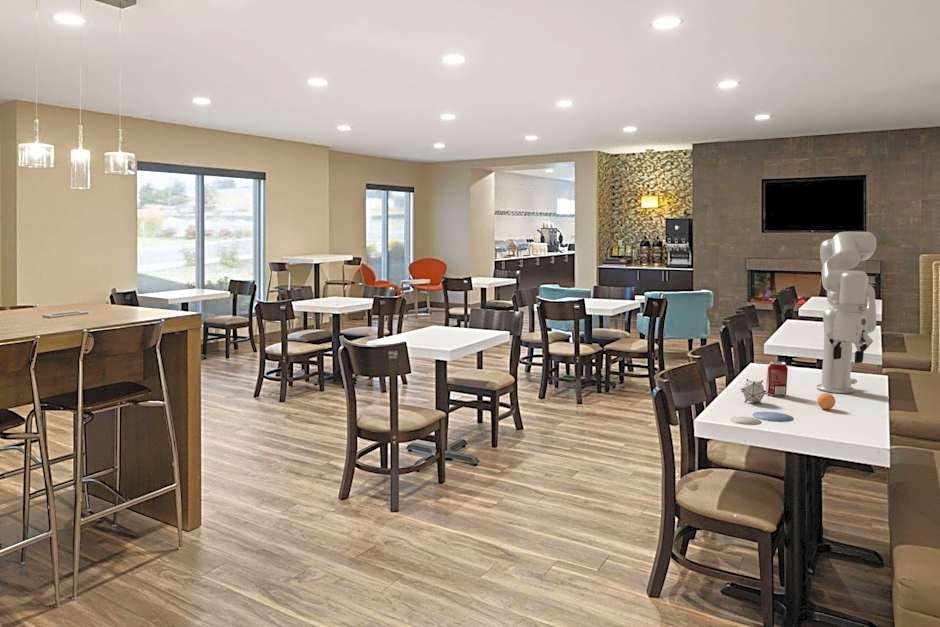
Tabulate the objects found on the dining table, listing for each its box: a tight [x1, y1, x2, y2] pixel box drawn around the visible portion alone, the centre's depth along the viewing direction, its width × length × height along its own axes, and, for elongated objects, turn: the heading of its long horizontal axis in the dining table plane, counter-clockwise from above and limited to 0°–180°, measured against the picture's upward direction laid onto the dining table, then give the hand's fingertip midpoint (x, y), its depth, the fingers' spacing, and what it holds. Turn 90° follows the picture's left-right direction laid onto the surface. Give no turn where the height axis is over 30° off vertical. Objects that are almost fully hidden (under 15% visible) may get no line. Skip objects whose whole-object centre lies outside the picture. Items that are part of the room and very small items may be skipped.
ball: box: [816, 392, 836, 410], centre depth 241 cm, size 6×6×6 cm
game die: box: [740, 378, 768, 405], centre depth 249 cm, size 9×8×10 cm
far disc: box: [730, 416, 762, 426], centre depth 225 cm, size 9×9×1 cm
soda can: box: [765, 360, 789, 397], centre depth 261 cm, size 7×7×12 cm
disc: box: [752, 411, 794, 423], centre depth 230 cm, size 12×12×1 cm
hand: (847, 360), depth 244 cm, fingers open, 7 cm apart
